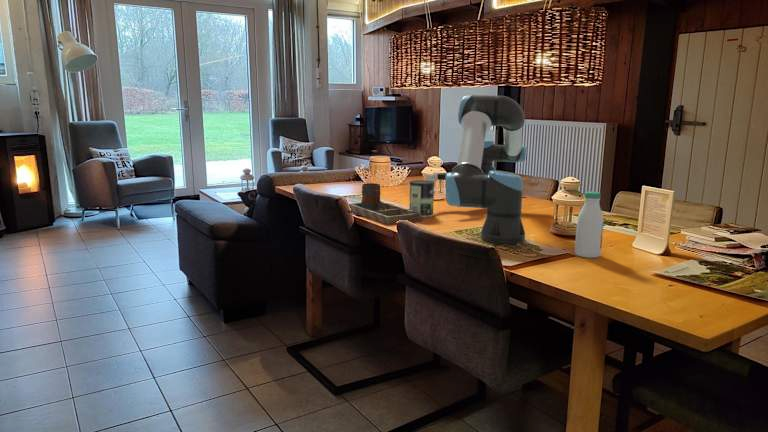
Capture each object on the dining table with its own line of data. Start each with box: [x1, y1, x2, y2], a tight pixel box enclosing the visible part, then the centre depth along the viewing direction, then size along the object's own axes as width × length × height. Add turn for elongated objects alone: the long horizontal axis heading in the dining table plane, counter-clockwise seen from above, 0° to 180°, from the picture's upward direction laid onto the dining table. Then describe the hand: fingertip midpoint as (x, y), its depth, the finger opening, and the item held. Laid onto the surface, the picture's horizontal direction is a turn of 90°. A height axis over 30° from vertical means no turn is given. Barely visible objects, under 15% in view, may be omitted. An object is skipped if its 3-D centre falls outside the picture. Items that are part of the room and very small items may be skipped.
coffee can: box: [408, 179, 435, 218], centre depth 232 cm, size 10×10×14 cm
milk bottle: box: [574, 190, 604, 259], centre depth 173 cm, size 8×8×20 cm
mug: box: [360, 182, 382, 211], centre depth 237 cm, size 9×12×12 cm
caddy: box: [348, 200, 422, 226], centre depth 231 cm, size 32×16×3 cm, turn 32°
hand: (438, 180), depth 238 cm, fingers open, 13 cm apart
